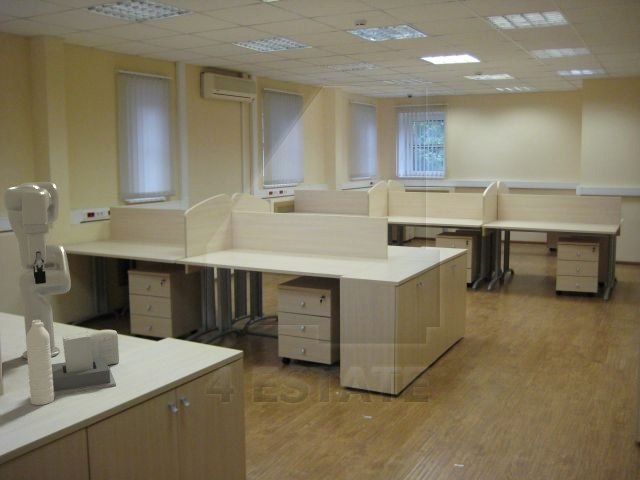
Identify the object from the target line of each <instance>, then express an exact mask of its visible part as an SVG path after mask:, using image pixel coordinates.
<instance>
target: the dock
mask: <svg viewBox="0 0 640 480" xmlns="http://www.w3.org/2000/svg"><path fill="white" fill-rule="evenodd" d="M92 360H93V369H90V370H83V371H76V372H69V373H67V372H66V363H65V361H64V362H59V363H52V366H51V367H52V375H53V379H52V380H53V388H54V390H53V392H54V397H55V396H60V395H66V394H73V393H80V392H85V391H86V392H87V391H91V390H92V391H93V390H99V389H105V388H106V389H107V388H110V387H111V388H112V387H116V386H117V383H116V381H115V378H114V375H113V372H112V370H111V368H110V366H109V365H107V362H106V360H105V357H101V358H94V359H92Z"/></svg>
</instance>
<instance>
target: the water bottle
mask: <svg viewBox="0 0 640 480" xmlns="http://www.w3.org/2000/svg"><path fill="white" fill-rule="evenodd" d="M43 326H44V323H43V322H41V320H33V321H32V327H31V329H30V330H29V332H28V333H27V335H26V334H25V344H26V351H27V356H28V357H27V358H28V359H27V368H28V380H29V382H28V383H29V394H30V403H31V404H32V405H35V406H41V405H47V404H50V403H52V402H53V401H54V400H55V396H54V392H53V390H54V388H53V380H52V379H53V375H52V367H51V366H52V364H53V363H52V357H51V351H50V336H49V333H48V332H47V331H46V329H45V328H44V327H43Z"/></svg>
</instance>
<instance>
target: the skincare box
mask: <svg viewBox="0 0 640 480" xmlns="http://www.w3.org/2000/svg"><path fill="white" fill-rule="evenodd" d="M89 334H90V333H89V332H88V331H87V332H80V333H74V334H67V335H62V343H63V345H62V346H63V353H64V362H65V363H66V372H67V373H69V372H76V371H83V370H90V369H93V360H92V349H91V337H90V335H89Z"/></svg>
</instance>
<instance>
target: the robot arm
mask: <svg viewBox="0 0 640 480" xmlns="http://www.w3.org/2000/svg"><path fill="white" fill-rule="evenodd" d="M57 187H58V186H57V185H56V184H55V183H54V182H52V181H37V182H36V181H35V182H34V181H33V182H31V181H30V182H23V183H21V184H19V185H17V186H13V187H8V188H6V189H4V191H3V195H2V196H3V198H2V199H3V205H4V207H5V210H6V211H7V217H8V222H9V224H10V227H11V230H12V231H13V233H14V235H15V237H16V239H17V242H18V250H19V259H20V264H21V267H22V269H23V270H25V272H23V273H22V274H21V275H20V276H19V277H18V286H19V287H18V288H19V292H20V295H21V300H22V307H23V316H24V317H23V319H24V320H23V321H24V328H25V329H24V330H25V336H26V335H27V333H28V332H29V330H30V329H31V327H32V321H33V320H41V322H43V323H44V326H43V327H44V328H45V329H46V331H47V332H48V333H49V336H50V351H51V358H52V357H54V356H58V354H60V352H61V351H60V348H59V347H57V346H56V345H55V344H56V343H55V332H54V319H53V309H52V308H53V307H52V305H51V304H50V302H49V301H48V300H47V299H46V298H45V296H46V297H47V296H51V295H52V296H53V295H62V294H66V293H68V292H69V291H70V290H71V287H72V283H71V282H72V281H71V275H70V269H69V268H70V267H69V261H68V257H67V252H66V250H65V247H63V245H61V244H47V243H46V235H47V234H49V233H50V231H49V227H50V226H49V223H54V222H56V221H57V220H58V218H59V202H60V200H59V199H60V197H59V189H58V188H57ZM22 357H23V359H26V360H28V358H27V357H28V356H27V350H25V351H23V352H22Z"/></svg>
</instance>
